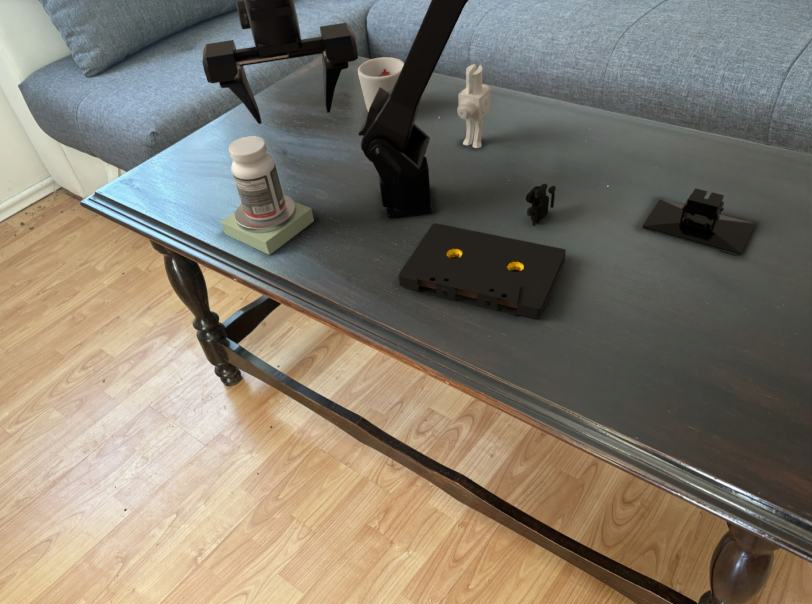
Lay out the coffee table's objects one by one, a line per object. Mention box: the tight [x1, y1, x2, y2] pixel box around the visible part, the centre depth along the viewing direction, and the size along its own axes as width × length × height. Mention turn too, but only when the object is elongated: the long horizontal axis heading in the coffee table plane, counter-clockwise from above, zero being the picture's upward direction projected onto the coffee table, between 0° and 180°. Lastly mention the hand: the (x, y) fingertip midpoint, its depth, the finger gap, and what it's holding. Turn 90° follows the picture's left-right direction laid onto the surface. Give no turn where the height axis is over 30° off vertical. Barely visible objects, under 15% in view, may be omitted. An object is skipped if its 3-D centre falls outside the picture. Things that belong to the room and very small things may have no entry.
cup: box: [357, 56, 405, 113], centre depth 111 cm, size 11×8×8 cm
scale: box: [220, 194, 315, 256], centre depth 92 cm, size 9×9×3 cm
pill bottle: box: [228, 135, 285, 220], centre depth 87 cm, size 6×6×10 cm
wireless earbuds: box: [525, 183, 557, 227], centre depth 88 cm, size 7×2×5 cm, turn 142°
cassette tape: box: [398, 222, 567, 320], centre depth 82 cm, size 18×12×2 cm, turn 66°
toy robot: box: [456, 63, 492, 149], centre depth 101 cm, size 4×8×12 cm, turn 147°
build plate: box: [641, 188, 756, 256], centre depth 84 cm, size 12×7×5 cm, turn 57°
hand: (294, 116), depth 88 cm, fingers open, 9 cm apart
